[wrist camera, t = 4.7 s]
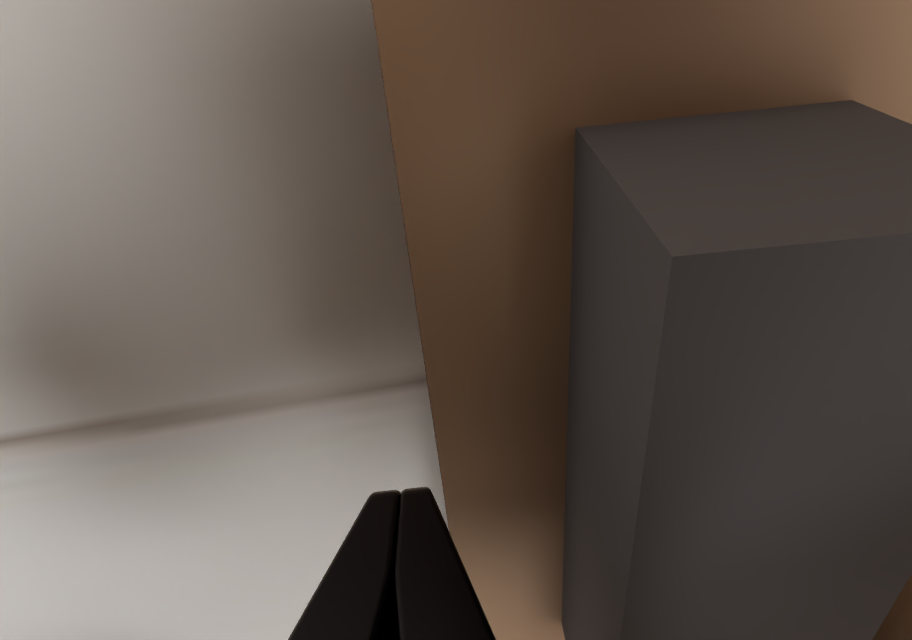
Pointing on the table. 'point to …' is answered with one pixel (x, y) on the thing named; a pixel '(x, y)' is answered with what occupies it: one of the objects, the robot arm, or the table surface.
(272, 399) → the table surface
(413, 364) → the table surface
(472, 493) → the wooden box
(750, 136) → the dark grey angular bar
